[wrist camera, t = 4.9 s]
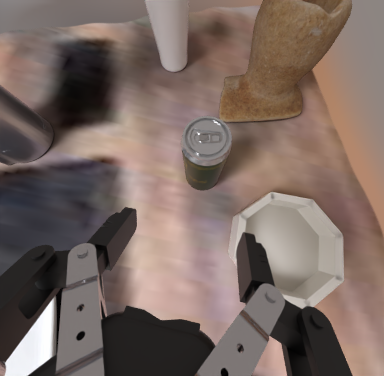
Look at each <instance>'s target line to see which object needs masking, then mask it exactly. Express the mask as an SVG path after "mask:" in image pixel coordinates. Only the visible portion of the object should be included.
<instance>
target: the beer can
mask: <svg viewBox="0 0 384 376" xmlns="http://www.w3.org/2000/svg"><path fill="white" fill-rule="evenodd" d="M231 146H232V136H231V131H230V129H229V128H228V126H227V124H225V123H224V122H223V121H222V120H220V119H218V118H216V117H211V116H202V117H198V118H196V119H193V120H192V121H191V122H190V123H188V124H187V126H186V127H185V129H184V132H183V135H182V139H181V147H182V153H183V160H184V167H185V173H186V179H187V181H188V183H189V184H190V185H191V186H192V187H193V188H195V189H197V190H208V189H210V188H212V187H213V186H214V185H215V184H216V182H217V180H218V178H219V176H220V174H221V172H222V169H223V167H224V165H225V162H226V160H227V158H228V156H229V153H230V151H231Z"/></svg>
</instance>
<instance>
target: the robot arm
mask: <svg viewBox="0 0 384 376" xmlns="http://www.w3.org/2000/svg"><path fill="white" fill-rule="evenodd" d="M53 136H54V134H53V128H52V126H51V125H50V123H49V122H48V121H46V120H45V119H44V118H43V117H41V116H40V115H39V114H38V113H36V112H35V111H33V110H32V109H31V108H29V107H28V106H27V105H26V104H24V103H23V102H22V101H20V100H19V99H18V98H16V97H15V96H14V95H12V94H11V93H10V92H9V91H7V90H6V89H5V88H3V87H2V86H1V85H0V162H1V163H4V164H6V165H11V164H13V163H26V162H30V161H33V160H35V159H37V158H39V157H40V156H42V155H43V154H44V153H45V152H46V151H47V150H48V148H49V147H50V145H51V143H52V141H53ZM136 227H137V216H136V209H132V208H128V207H125V208H124V209H123V210H122V211H121V212H120V213H115V214H113V215H111V216H110V217H109V218H108V219H107V220H106V222H105V223H104V224H103V225H102V227H100V228H99V229H98V231H97V232H96V233H95V234H94V235H93V236H92V237H91V238H90V240H89V241H88V242H87V243H84V244H80V245H78V246H76V247H74V248H73V249H72V250H68V251H54V248H53V247H52V246H49V245H42V246H38V247H35V248H33V249H31V250H30V251H28V252H27V253H26V254H25V255H24V256H22V257H21V258H20V259H19V260H18V261H17V262H16V263H15V264H13V265H12V266H11V267H10V268H9V269H8V270H7V271H6V272H5V273H3V274H2V275H1V276H0V376H5V373H6V365H5V362H6V361H7V360H8V358H9V357H10V356H11V354H12V353H13V352H14V350H15V349H16V348H17V346H18V345H19V344H20V342H21V341H22V340H23V338H24V337H25V336H26V334H27V333H28V332H29V330H30V329H31V328H32V326H33V325H34V324H35V322H36V321H37V320H38V318H39V317H40V315H41V314H42V313H43V311H44V310H45V309H46V307H47V306H48V305H49V303H50V302H51V301H52V299H53V298H54V297H55V295H56V294H57V293H58V291H59V290H60V289H61V288H64V289H63V291H62V301H61V314H60V326H59V339H58V352H57V354H55V355H54V356H53V357H51V358H50V359H49V360H47V361H46V362H45V363H43V364H42V365H41V366H39V367H38V368H37V369H35V370H34V371H33V372H32V373H30V374H29V375H28V376H251V375H252V373H253V371H254V369H255V367H256V365H257V363H258V361H259V359H260V357H261V355H262V353H263V351H264V349H265V347H266V345H267V343H268V341H269V336H271V337H272V338H274V339H276V340H277V341H279V342H280V343H281V344H282V349H283V355H284V360H285V366H286V371H287V376H352V373H351V371H350V368H349V366H348V364H347V361H346V359H345V356H344V354H343V352H342V349H341V347H340V344H339V342H338V339H337V337H336V335H335V332H334V330H333V327H332V325H331V323H330V321H329V320H328V319H327V317H326V316H325V315H324V314H323V313H322V312H321V311H319V310H318V309H316V308H314V307H311V306H306V307H304V308H303V309H301V308H300V307H298V306H296V305H294V304H292V303H290V302H289V301H287V300H286V299H284V297H283V295H282V293H281V292H280V291H279V290H278V289H277V288H276V287H275V284H274V280H273V276H272V272H271V269H270V265H269V261H268V258H267V254H266V250H265V248H264V247H263V246H262V244H261V243H257V242H256V238H255V235H254V234H251V233H246V232H243V233H242V236H241V238H240V241H239V243H238V246H237V250H236V259H237V271H238V283H239V295H240V302H244V303H246V306H245V308H244V309H243V310H242V311H241V312H240V313H239V315H238V316H237V317H236V319H235V320H234V322H233V323H232V324H231V326H230V327H229V329H228V330H227V331H226V333H225V334H224V336H223V337H222V338H221V340H220V341H219V342H218V344H217V345H216V346H215V344H214V343H213V342H212V340H211V339H210V338H209V337H208V336H207V335H206V334H205V333H203V332H202V331H201V330H200V324H199V323H195V322H191V321H187V320H183V319H178V320H160V319H158V318H156V317H155V316H153V315H152V314H150V313H148V312H147V311H145V310H142V309H138V308H134V307H130V306H126V308H125V311H123V312H117V313H114V314H111V315H109V316H107V313H106V307H105V299H104V290H103V280H102V273H103V272H104V270H105V269H106V270H110V271H111V270H112V268H113V267H114V265H115V263H116V262H117V260H118V258H119V257H120V255H121V254H122V252H123V250H124V249H125V247H126V245H127V244H128V242H129V241H130V239H131V237H132V236H133V234H134V232H135V230H136ZM65 287H66V288H65Z"/></svg>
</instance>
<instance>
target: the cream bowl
mask: <svg viewBox="0 0 384 376" xmlns="http://www.w3.org/2000/svg"><path fill="white" fill-rule="evenodd" d="M243 232H246V233H251V234H254V235H255V238H256V242H257V243H261V244H262V246H263V247H264V248H265V250H266V254H267V258H268V261H269V265H270V269H271V272H272V276H273V280H274V284H275V287H276V288H277V289H278V290H279V291H280V292H281V293H282V295H283V297H284V299H286V300H287V301H289V302H290V303H292V304H294V305H296V306H298V307H300V308H304V307H306V306H311V307H314V306H315V305H316V304H318V303H319V302H320V301H321V300H322V299H323V298H325V297H326V296H327V295H328V294H329V293H331V292H332V291H333V290H334V289H335V288H336V287H338V286H339V285H340V284H341V283H342V282H344V257H343V234H342V233H341V232H340V231H339V229H338V228H337V227H336V226H335V225H334V224H333V222H332V221H331V220H330V219H329V218H328V217H327V215H326V214H325V213H324V212H323V211H322V210H321V209H320V207H319V206H318V205H317V204H316V203H315V202H314V200H313V199H307V198H302V197H297V196H291V195H286V194H281V193H275V192H270V193H268V194H266V195H264V196H263V197H261V198H259V199H258V200H257V201H255V202H254V203H252V204H251V205H249V206H248V207H247V208H245V209H244V210H242V211H241V212H239V213H238V214H237V215H235V216H234V217H233V221H232V228H231V235H230V243H229V250H228V255H229V256H230V258H231V259H232V261H233V262H234V264H235V265H236V267H237V259H236V250H237V246H238V243H239V241H240V238H241V236H242V233H243Z"/></svg>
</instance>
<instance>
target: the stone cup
mask: <svg viewBox="0 0 384 376" xmlns="http://www.w3.org/2000/svg"><path fill="white" fill-rule="evenodd" d="M351 9H352V1H351V0H263V2H262V4H261V7H260V9H259V12H258V14H257V17H256V20H255V25H254V31H253V38H252V45H251V53H250V60H249V66H248V70H247V72H246V73H245V75H240V76H231V77H226V78H225V80H224V89H223V91H222V94H221V99H220V107H219V108H220V109H219V119H220V120H222V121H223V122H246V121H265V120H277V119H285V118H291V117H294V116H297V115H299V114H300V113H301V111H302V96H301V92H300V89H299V88H298V86H297V82H298V81H299V80H300V79H301V78H302V77H303V76H304V75H306V74H307V73H308V72H309V71H310V70H311V69H312V68H313V67H314V66H315V65H316V64H317V63H318V62H319V61H320V60H321V59H322V57H323V56H324V55H325V54H326V53H327V51H328V50H329V49H330V47H331V46H332V44H333V43H334V41H335V39H336V38H337V37H338V35H339V33H340V32H341V30H342V29H343V27H344V25H345V23H346V21H347V20H348V18H349V16H350V13H351Z"/></svg>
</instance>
